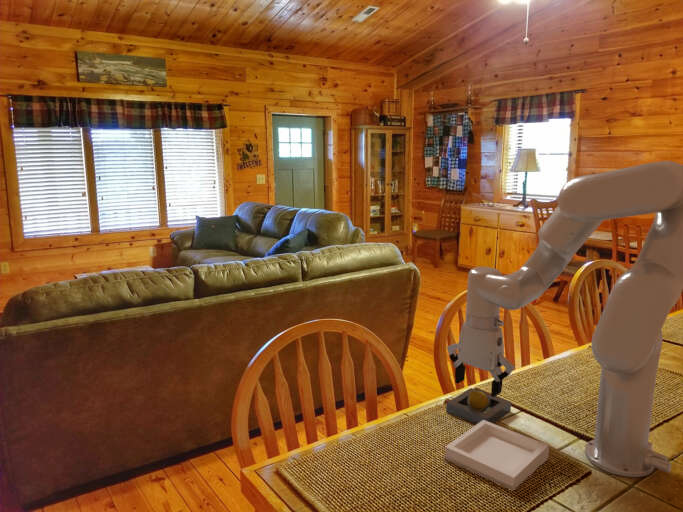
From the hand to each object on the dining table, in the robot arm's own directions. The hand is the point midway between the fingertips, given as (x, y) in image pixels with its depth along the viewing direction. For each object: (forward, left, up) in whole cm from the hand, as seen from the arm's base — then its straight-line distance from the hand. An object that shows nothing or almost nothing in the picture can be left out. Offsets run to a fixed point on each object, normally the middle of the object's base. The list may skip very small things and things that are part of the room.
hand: (477, 388), depth 128 cm
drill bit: (-1, 0, -6) cm, 6 cm away
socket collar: (-1, 0, -6) cm, 6 cm away
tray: (-14, +15, -6) cm, 21 cm away
